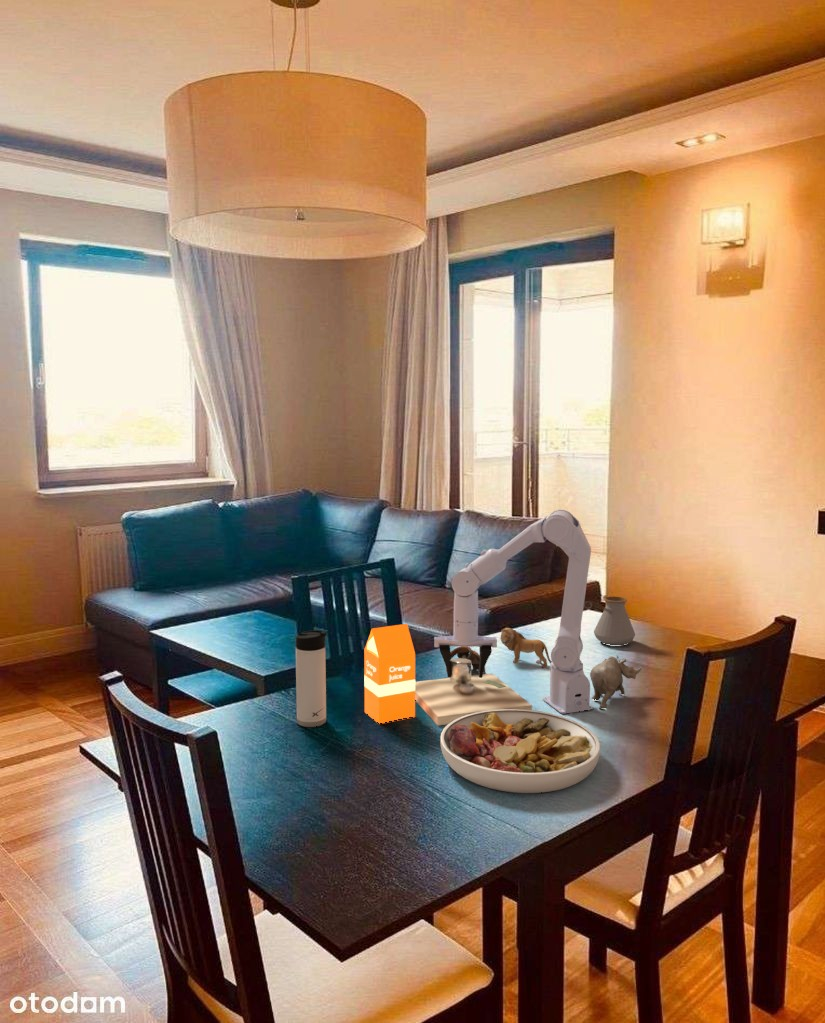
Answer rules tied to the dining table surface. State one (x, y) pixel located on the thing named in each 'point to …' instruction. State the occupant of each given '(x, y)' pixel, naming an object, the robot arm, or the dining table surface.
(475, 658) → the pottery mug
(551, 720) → the bowl
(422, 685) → the wooden board
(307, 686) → the travel mug
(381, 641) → the orange juice
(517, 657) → the lion figurine
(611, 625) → the coffee pot
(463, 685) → the beige shiny cylinders
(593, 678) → the rhino figurine
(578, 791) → the dining table surface
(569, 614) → the robot arm
